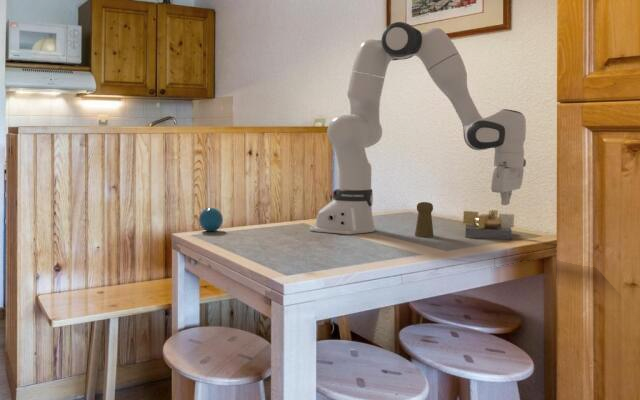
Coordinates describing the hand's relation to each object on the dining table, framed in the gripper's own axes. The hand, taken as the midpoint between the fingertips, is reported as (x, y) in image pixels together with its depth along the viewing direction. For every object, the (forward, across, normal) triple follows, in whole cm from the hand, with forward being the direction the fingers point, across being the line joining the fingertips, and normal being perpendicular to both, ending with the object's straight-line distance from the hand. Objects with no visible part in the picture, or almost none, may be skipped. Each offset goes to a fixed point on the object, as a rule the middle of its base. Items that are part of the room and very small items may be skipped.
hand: (505, 204), depth 184 cm
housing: (+11, +1, +5) cm, 12 cm away
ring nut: (+8, +1, +5) cm, 9 cm away
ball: (+14, -47, +84) cm, 97 cm away
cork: (+12, -12, +22) cm, 28 cm away
